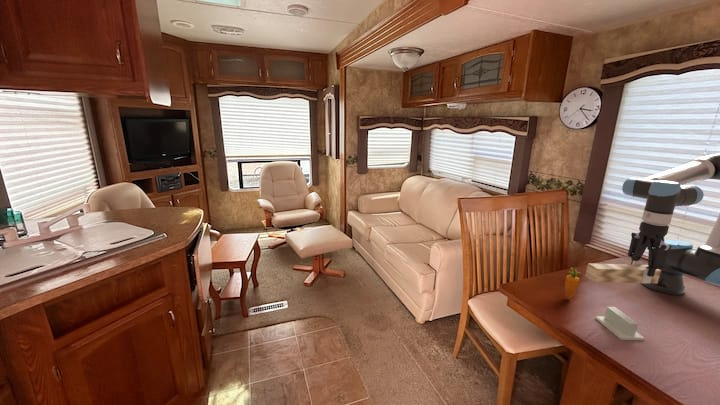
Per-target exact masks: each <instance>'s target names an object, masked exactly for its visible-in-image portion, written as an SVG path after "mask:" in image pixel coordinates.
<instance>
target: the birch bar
mask: <svg viewBox="0 0 720 405" xmlns="http://www.w3.org/2000/svg"><path fill="white" fill-rule="evenodd" d="M646 266H648V264H641V265H634V264H631V263H630V264H629V263H628V264H626V263H624V264H622V263H595V262H594V263H592V262H591V263H589V262H588V263H587V266H586V271H585V274H584V276H585V277H586V278H587V279H589V280H590V281H592V282H594V283H625V284H631V283H632V284H641V283H642V282H641V281H642V277H643V274H644V270H645V267H646ZM660 273H661V270H659V269H656V271H655V274H654V276H653V277H652V279H651V282H650V283H658V279H659V276H660Z"/></svg>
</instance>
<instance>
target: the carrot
mask: <svg viewBox="0 0 720 405" xmlns="http://www.w3.org/2000/svg"><path fill="white" fill-rule="evenodd" d="M569 269H570V270H569V271H568V273H569V274H567V275H566V276H565V282H564V293H565V298H566V300H571V299H572V298H573V297H574V296H575V295H576V292H577V291H578V288H579V284H580V278H579V277H578V275H579V274H580V273H581V272H580V271H578V270H577V269H574V268H573V267H570V268H569Z"/></svg>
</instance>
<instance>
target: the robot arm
mask: <svg viewBox="0 0 720 405" xmlns="http://www.w3.org/2000/svg"><path fill="white" fill-rule="evenodd" d="M706 180H716V181H717V180H718V181H720V152H719V153H715V154H709V155H705V156H701V157H698V158H694V159H692V160H689V161H688V162H687V163H686V164H684V165H680V166H677V167H675V168H672V169H671V168H670V169H668V170H665V171H662V172H659V173H656V174H653V175H650V176H647V177H644V178H638V177H629V178H627V179H626V180H625V181H624V182H623V183H622V189H621V190H622V192H623V194H625V195H626V196H630V197H632V198H634V197H635V198H638V199H645V206H644V209H643V214H642V217H641V220H642V221H640V224H639V228H638V230H639V232H631V234H630V235H631V240H630V243H629V246H628V247H629V248H628V252H627V257H630V258H631V261H630V264H634V265H642V263H643V261H642V260H643V259H642V257H643V255H644V253H645V252H646V250H648V255H647V256H648V257H647V259H648V260H647V265H648V266H646V267H645V270H644V274H643V277H642V281H641V282H642V283H640V284H641V285H643V286H645V287H646V288H649V289H650V290H653V291H655V292H659V293H663V294H669V295H673V296H674V295H675V296H676V295H677V296H680V295H683V294H684V293H685V289H686V287H685V282H684V281H685V280H684V275H687V276H690V277H693V278H695V279H698V280H700V281H702V282H704V283H707V284H712V285H714V286H718V287H720V213H719V215H718V216H717V218H716V221H715V223H714V225H713V227H712V229H711V232H710V233H709V235H708V238H707V240H706V242H705V243H704V244H702V245H698V246H697V248H696V249H695V248H694V244H692V243H690V242H687V241H683V240H676V239H665V237H666V235H668V232H669V228H670V226H669V225H671V222H672V219H673V214H674V211H675V207H687V206H688V207H689V206H692V205H696V204H698V203H700V202H702V200H703V198H704V196H705V194H704V191H703V190H702V188H700V187H699V186H697V185H693V184H690V183H692V182H696V181H701V182H702V181H706ZM656 269H659V270H661V273H660V276H659V279H658V283H650V282H651V279H652V277H653V276H654V274H655V271H656Z"/></svg>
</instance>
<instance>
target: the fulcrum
mask: <svg viewBox="0 0 720 405" xmlns="http://www.w3.org/2000/svg"><path fill="white" fill-rule="evenodd" d="M595 319H596V321H597V322H598V323H600V324H602V325H603V326H604V327H605V328H606V329H607V330H608V331H610V332H611V333H613V335H615V336H616V338H618V339H620V341H644V340H645V337H644V336H642V335H641V334H640V333H639V332H637V328H638V325H639V324H638V323H637V321H635V320H633V319H632V318H631V317H629V316H628V315H627V314H625V313H624V312H623V311H621V310H620V309H618V308H617V307H615V306H606V309H605V314H604V316H603V315H602V316H600V315H596V316H595Z"/></svg>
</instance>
